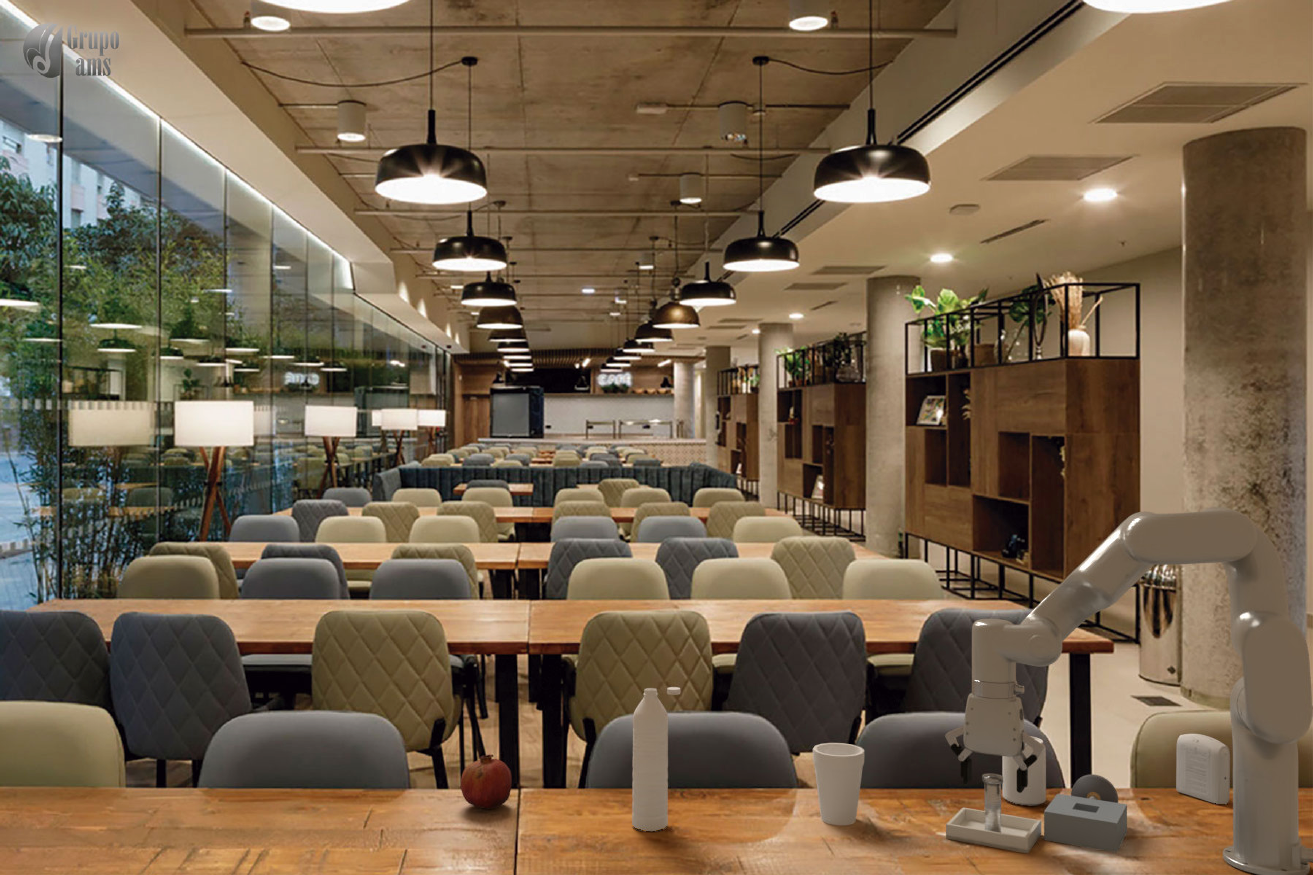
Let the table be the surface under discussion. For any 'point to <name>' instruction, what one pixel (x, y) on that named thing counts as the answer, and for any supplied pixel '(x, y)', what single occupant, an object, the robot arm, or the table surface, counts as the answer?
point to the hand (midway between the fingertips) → (993, 786)
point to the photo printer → (1203, 768)
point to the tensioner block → (1087, 816)
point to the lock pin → (992, 801)
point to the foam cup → (838, 781)
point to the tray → (1012, 837)
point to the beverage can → (1036, 779)
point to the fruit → (486, 782)
